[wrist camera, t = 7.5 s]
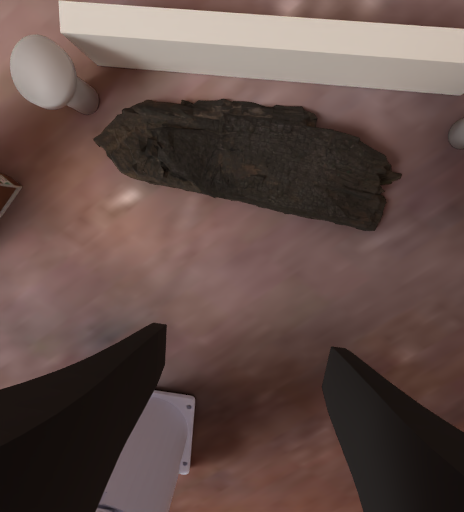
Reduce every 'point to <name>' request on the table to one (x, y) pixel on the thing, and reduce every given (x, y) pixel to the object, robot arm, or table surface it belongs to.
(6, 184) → the food container
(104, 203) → the table surface
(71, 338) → the table surface
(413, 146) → the table surface
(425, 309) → the table surface
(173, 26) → the cream long bar
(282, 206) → the wood
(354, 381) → the robot arm
